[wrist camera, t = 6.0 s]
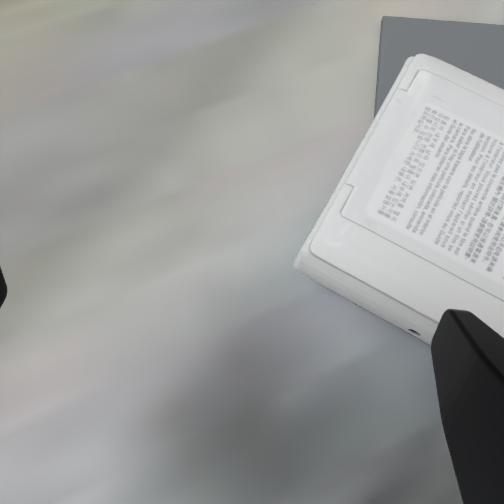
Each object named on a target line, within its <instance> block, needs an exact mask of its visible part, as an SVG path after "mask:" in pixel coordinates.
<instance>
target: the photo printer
mask: <svg viewBox="0 0 504 504" xmlns="http://www.w3.org/2000/svg"><path fill="white" fill-rule="evenodd" d="M294 268H295V270H296V271H298V272H299V273H301V274H303V275H305V276H307V277H308V278H310V279H312V280H314V281H316V282H317V283H319V284H321V285H323V286H325V287H326V288H328V289H330V290H332V291H334V292H335V293H337V294H339V295H341V296H343V297H344V298H346V299H348V300H350V301H352V302H353V303H355V304H357V305H359V306H361V307H362V308H364V309H366V310H368V311H370V312H371V313H373V314H375V315H377V316H379V317H380V318H382V319H384V320H386V321H388V322H390V323H391V324H393V325H395V326H397V327H399V328H401V329H403V330H404V331H406V332H408V333H410V334H411V335H413V336H415V337H417V338H419V339H420V340H422V341H424V342H426V343H428V344H429V345H431V342H432V338H433V336H434V333H435V331H436V329H437V326H438V324H439V322H440V319H441V317H442V315H443V313H444V312H445V311H446V310H447V309H459V310H467V311H470V312H472V313H473V314H474V315H475V316H477V317H478V318H479V319H481V320H482V321H483V322H484V323H486V324H487V325H488V326H489V327H491V328H492V329H493V330H494V331H496V332H497V333H498V334H499V335H501V336H502V337H503V338H504V89H501V88H499V87H497V86H495V85H493V84H491V83H489V82H487V81H485V80H482V79H480V78H478V77H476V76H474V75H472V74H470V73H468V72H466V71H463V70H461V69H459V68H457V67H455V66H453V65H451V64H448V63H446V62H444V61H442V60H440V59H437V58H435V57H432V56H429V55H426V54H417V55H416V56H415V57H413V56H411V57H409V58H408V59H407V60H406V61H405V63H404V65H403V67H402V69H401V71H400V73H399V75H398V77H397V78H396V80H395V82H394V84H393V86H392V87H391V89H390V91H389V93H388V95H387V97H386V98H385V100H384V102H383V104H382V106H381V107H380V109H379V111H378V113H377V115H376V116H375V118H374V120H373V122H372V124H371V125H370V127H369V129H368V131H367V133H366V134H365V136H364V138H363V140H362V142H361V144H360V145H359V147H358V149H357V151H356V153H355V154H354V156H353V158H352V160H351V162H350V163H349V165H348V167H347V169H346V171H345V172H344V174H343V176H342V178H341V180H340V181H339V183H338V185H337V187H336V189H335V190H334V192H333V194H332V196H331V198H330V199H329V201H328V203H327V205H326V207H325V208H324V210H323V212H322V214H321V215H320V217H319V219H318V220H317V222H316V224H315V226H314V227H313V229H312V231H311V232H310V234H309V236H308V238H307V239H306V241H305V243H304V244H303V246H302V248H301V250H300V252H299V254H298V255H297V257H296V259H295V261H294Z"/></svg>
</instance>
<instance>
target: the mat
mask: <svg viewBox="0 0 504 504" xmlns="http://www.w3.org/2000/svg"><path fill="white" fill-rule="evenodd" d="M417 54H426V55H429V56H432V57H435V58H437V59H440V60H442V61H444V62H446V63H448V64H451V65H453V66H455V67H457V68H459V69H461V70H463V71H466V72H468V73H470V74H472V75H474V76H476V77H478V78H480V79H482V80H485V81H487V82H489V83H491V84H493V85H495V86H497V87H499V88H501V89H504V25H494V24H481V23H468V22H456V21H443V20H430V19H417V18H404V17H391V16H383V18H382V21H381V32H380V45H379V59H378V72H377V85H376V99H375V112H374V118H375V116H376V115H377V113H378V111H379V109H380V107H381V106H382V104H383V102H384V100H385V98H386V97H387V95H388V93H389V91H390V89H391V87H392V86H393V84H394V82H395V80H396V78H397V77H398V75H399V73H400V71H401V69H402V67H403V65H404V63H405V61H406V60H407V59H408V58H409V57H411V56H413V57H415V56H416V55H417Z"/></svg>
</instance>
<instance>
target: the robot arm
mask: <svg viewBox="0 0 504 504" xmlns="http://www.w3.org/2000/svg"><path fill="white" fill-rule="evenodd" d="M6 295H7V285H6V282H5V279H4V276H3V273H2V270H1V267H0V308H1V306H2V304H3V302H4V300H5V298H6ZM431 353H432V360H433V367H434V373H435V380H436V387H437V394H438V400H439V407H440V413H441V419H442V424H443V428H444V433H445V437H446V440H447V444H448V448H449V452H450V455H451V459H452V463H453V466H454V470H455V474H456V478H457V481H458V485H459V489H460V493H461V496H462V500H463V504H504V338H503V337H502V336H501V335H499V334H498V333H497V332H496V331H494V330H493V329H492V328H491V327H489V326H488V325H487V324H486V323H484V322H483V321H482V320H481V319H479V318H478V317H477V316H475V315H474V314H473V313H472V312H470V311H467V310H459V309H447V310H446V311H445V312H444V313H443V315H442V317H441V319H440V322H439V324H438V326H437V329H436V331H435V333H434V336H433V338H432V342H431Z"/></svg>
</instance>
